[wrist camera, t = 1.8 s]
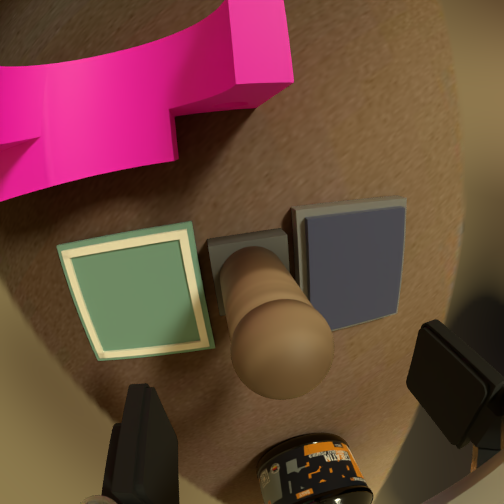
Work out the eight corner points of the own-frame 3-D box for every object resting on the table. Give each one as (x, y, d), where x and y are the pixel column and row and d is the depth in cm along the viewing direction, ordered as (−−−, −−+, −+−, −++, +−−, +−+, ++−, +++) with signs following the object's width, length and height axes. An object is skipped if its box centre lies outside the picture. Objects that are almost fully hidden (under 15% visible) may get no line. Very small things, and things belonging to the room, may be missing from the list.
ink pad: (291, 206, 18) (298, 212, 17) (398, 195, 19) (410, 199, 18) (297, 330, 21) (303, 342, 20) (390, 307, 22) (400, 316, 21)
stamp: (207, 238, 18) (219, 344, 8) (280, 228, 19) (363, 314, 9) (218, 304, 20) (239, 433, 10) (285, 293, 20) (351, 406, 11)
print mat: (58, 244, 17) (55, 247, 16) (191, 220, 18) (191, 222, 17) (98, 358, 20) (97, 362, 19) (215, 345, 21) (215, 349, 20)
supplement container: (362, 434, 28) (405, 512, 17) (304, 480, 30) (330, 553, 19) (295, 420, 25) (336, 526, 14) (235, 471, 27) (253, 561, 16)
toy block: (28, 191, 15) (-44, 218, 8) (20, 99, 13) (-53, 88, 6) (259, 149, 17) (299, 150, 10) (249, 50, 15) (282, -5, 8)
